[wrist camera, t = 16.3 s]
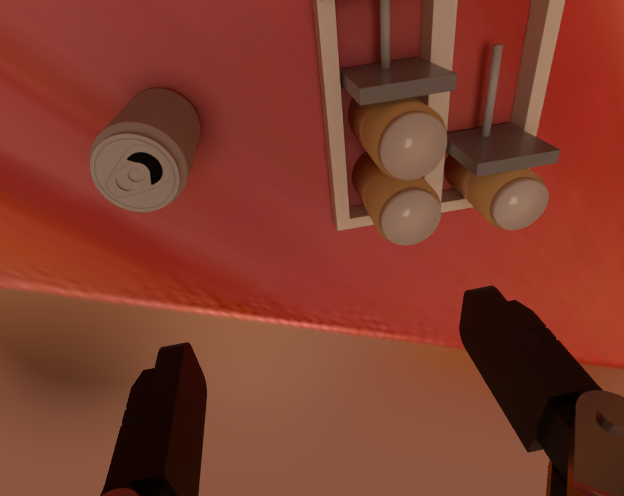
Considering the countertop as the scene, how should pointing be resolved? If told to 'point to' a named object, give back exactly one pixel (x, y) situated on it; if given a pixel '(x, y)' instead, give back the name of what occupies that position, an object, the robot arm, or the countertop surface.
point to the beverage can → (146, 151)
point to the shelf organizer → (421, 85)
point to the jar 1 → (400, 136)
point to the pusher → (498, 139)
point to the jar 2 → (396, 203)
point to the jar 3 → (501, 194)
